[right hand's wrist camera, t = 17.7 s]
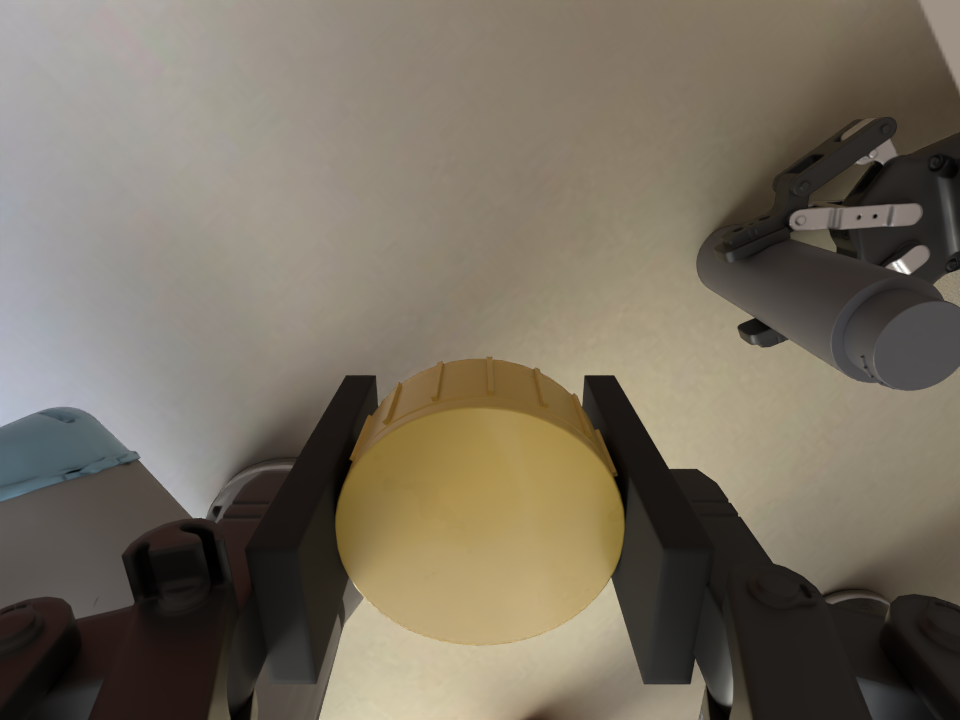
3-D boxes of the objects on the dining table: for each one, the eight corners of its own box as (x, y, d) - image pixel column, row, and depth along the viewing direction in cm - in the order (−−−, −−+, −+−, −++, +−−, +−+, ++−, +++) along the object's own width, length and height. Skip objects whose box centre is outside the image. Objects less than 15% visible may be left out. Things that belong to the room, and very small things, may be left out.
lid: (641, 512, 13) (674, 586, 11) (433, 599, 14) (425, 683, 12) (538, 310, 11) (552, 349, 9) (308, 424, 12) (270, 485, 10)
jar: (690, 291, 41) (844, 399, 23) (703, 222, 39) (881, 283, 22) (757, 295, 41) (960, 405, 24) (774, 226, 39) (1007, 290, 22)
